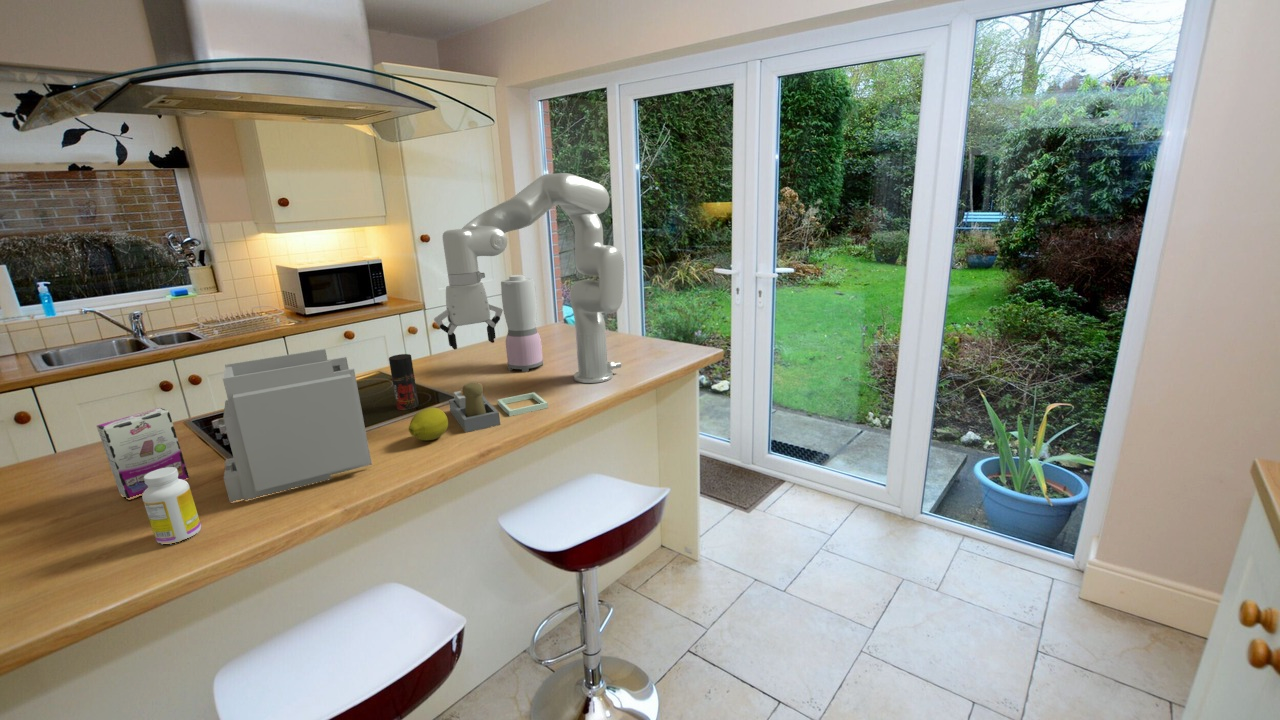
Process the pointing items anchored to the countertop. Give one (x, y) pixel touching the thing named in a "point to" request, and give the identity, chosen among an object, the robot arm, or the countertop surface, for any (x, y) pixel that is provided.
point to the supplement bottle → (170, 506)
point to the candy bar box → (141, 449)
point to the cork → (473, 399)
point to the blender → (521, 323)
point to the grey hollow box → (475, 417)
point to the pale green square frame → (526, 409)
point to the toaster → (291, 423)
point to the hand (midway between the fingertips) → (473, 344)
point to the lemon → (428, 424)
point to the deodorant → (403, 381)
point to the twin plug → (460, 399)
